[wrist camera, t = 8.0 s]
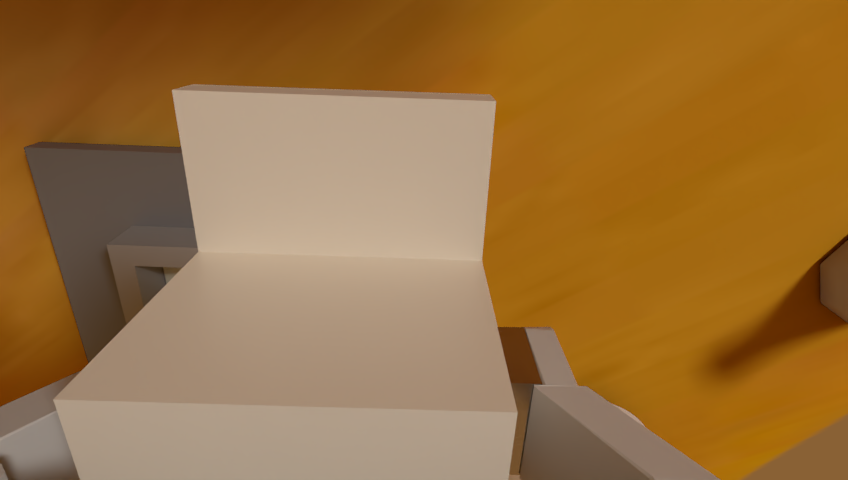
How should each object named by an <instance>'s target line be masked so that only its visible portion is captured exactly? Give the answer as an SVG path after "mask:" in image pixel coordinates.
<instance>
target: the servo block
mask: <svg viewBox="0 0 848 480" xmlns="http://www.w3.org/2000/svg"><path fill="white" fill-rule="evenodd" d="M172 93H173V100H174V106H175V112H176V118H177V124H178V130H179V136H180V143H181V149H182V155H183V161H184V167H185V173H186V179H187V186H188V192H189V198H190V204H191V210H192V216H193V222H194V228H195V235H196V241H197V247H198V253H197V254H196V255H195V256H194V257H193V258H192V259H191V260H190V261H189V262H188V263H187V264H186V265H185V266H184V267H183V268H182V269H181V270H180V271H179V272H178V273H177V274H176V275H175V276H174V277H173V278H172V279H171V280H170V281H169V282H168V283H167V284H166V285H165V286H164V287H163V288H162V289H161V290H160V291H159V292H158V293H157V294H156V295H155V296H154V297H153V298H152V299H151V300H150V301H149V302H148V303H147V305H146V306H145V307H144V308H143V309H142V310H141V311H140V312H139V313H138V314H137V315H136V316H135V317H134V318H133V319H132V320H131V321H130V322H129V323H128V324H127V325H126V326H125V327H124V328H123V329H122V330H121V331H120V332H119V333H118V334H117V335H116V336H115V337H114V338H113V339H112V340H111V341H110V342H109V343H108V344H107V345H106V346H105V347H104V348H103V349H102V350H101V351H100V352H99V353H98V354H97V355H96V356H95V357H94V358H93V359H92V360H91V362H90V363H89V364H88V365H87V366H86V367H85V368H84V369H83V370H82V371H81V372H80V373H79V374H78V375H77V376H76V377H75V378H74V379H73V380H72V381H71V382H70V383H69V384H68V385H67V386H66V387H65V388H64V389H63V390H62V391H61V392H60V393H59V394H58V395H57V396H56V397H55V398H54V399H53V401H54V404H55V407H56V410H57V413H58V416H59V419H60V422H61V425H62V428H63V431H64V434H65V437H66V440H67V443H68V446H69V449H70V451H71V454H72V457H73V460H74V463H75V466H76V469H77V472H78V475H79V478H80V480H508V478H509V471H510V464H511V457H512V450H513V442H514V435H515V428H516V421H517V414H518V412H517V407H516V403H515V399H514V395H513V391H512V386H511V382H510V378H509V374H508V369H507V365H506V361H505V357H504V352H503V348H502V344H501V340H500V335H499V331H498V327H497V323H496V318H495V314H494V310H493V306H492V301H491V297H490V293H489V289H488V285H487V280H486V276H485V272H484V268H483V263H482V254H483V242H484V231H485V220H486V209H487V197H488V186H489V175H490V164H491V152H492V141H493V130H494V119H495V107H496V101H495V99H494V98H493V97H492V96H491V95H485V94H456V93H428V92H399V91H371V90H342V89H314V88H285V87H257V86H228V85H199V84H192V85H188V86H184V87H181V88H177V89H174V90H172Z"/></svg>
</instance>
